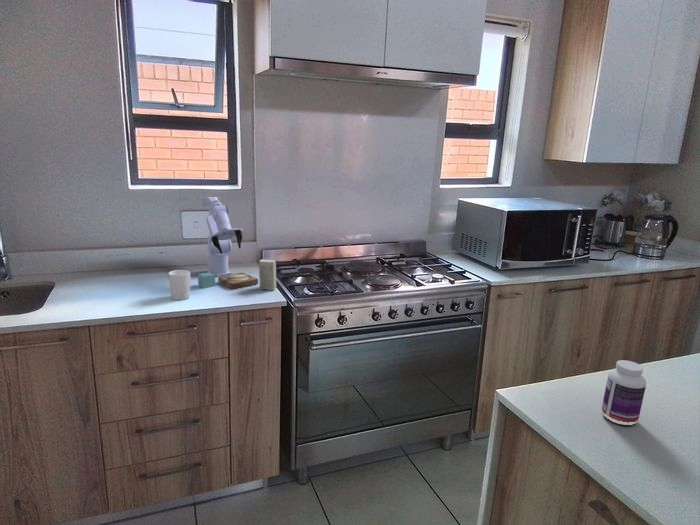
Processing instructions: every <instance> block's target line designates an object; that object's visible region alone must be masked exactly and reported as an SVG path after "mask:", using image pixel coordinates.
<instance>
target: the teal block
mask: <svg viewBox="0 0 700 525" xmlns="http://www.w3.org/2000/svg"><path fill="white" fill-rule="evenodd" d="M197 282H198V283H197V284H198V286H199V287H201V288H203V289H209V288H213V287H216V276H215V275H214V274H212V273H209V272H203V273H198V274H197Z"/></svg>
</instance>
